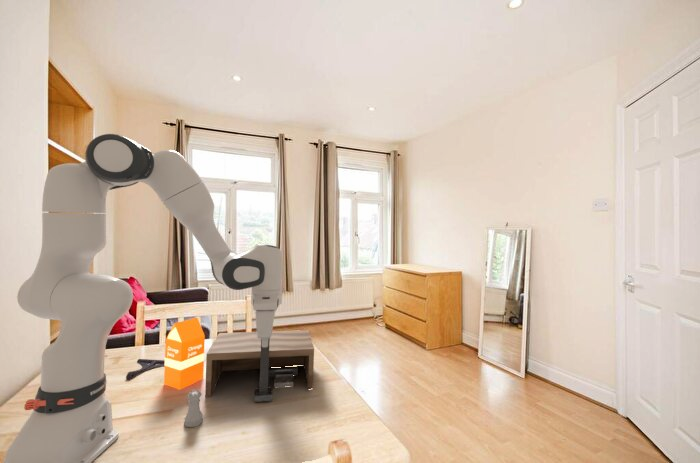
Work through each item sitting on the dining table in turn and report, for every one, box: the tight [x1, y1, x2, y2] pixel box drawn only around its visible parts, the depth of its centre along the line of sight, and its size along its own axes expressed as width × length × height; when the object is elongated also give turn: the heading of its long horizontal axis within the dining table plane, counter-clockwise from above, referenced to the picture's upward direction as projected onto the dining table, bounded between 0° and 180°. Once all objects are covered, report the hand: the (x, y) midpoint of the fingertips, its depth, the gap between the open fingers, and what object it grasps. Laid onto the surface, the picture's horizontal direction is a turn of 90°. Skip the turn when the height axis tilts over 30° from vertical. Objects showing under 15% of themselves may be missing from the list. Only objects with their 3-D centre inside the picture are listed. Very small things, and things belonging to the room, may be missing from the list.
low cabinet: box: [204, 329, 315, 398], centre depth 109 cm, size 20×32×13 cm, turn 102°
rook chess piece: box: [183, 389, 204, 428], centre depth 83 cm, size 4×4×8 cm
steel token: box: [273, 374, 294, 388], centre depth 107 cm, size 6×6×2 cm
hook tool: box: [253, 338, 299, 403], centre depth 104 cm, size 18×14×20 cm
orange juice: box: [163, 317, 206, 390], centre depth 106 cm, size 8×9×20 cm
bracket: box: [125, 358, 165, 381], centre depth 113 cm, size 14×15×3 cm
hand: (265, 344), depth 97 cm, fingers closed on hook tool, 2 cm apart
